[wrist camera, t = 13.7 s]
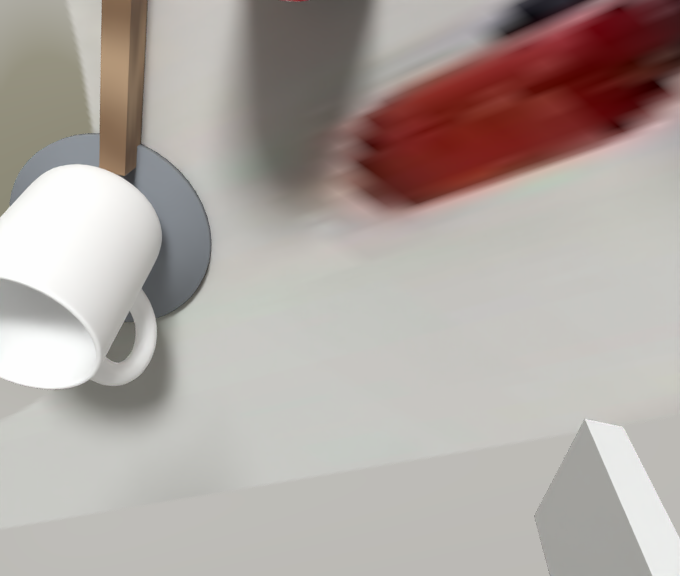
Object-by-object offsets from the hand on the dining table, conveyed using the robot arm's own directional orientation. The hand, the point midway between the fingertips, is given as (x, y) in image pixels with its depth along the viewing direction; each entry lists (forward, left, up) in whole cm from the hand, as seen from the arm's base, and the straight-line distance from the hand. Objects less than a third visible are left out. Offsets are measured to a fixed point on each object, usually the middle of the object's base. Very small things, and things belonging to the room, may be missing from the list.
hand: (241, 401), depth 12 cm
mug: (+10, -12, -26) cm, 30 cm away
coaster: (+10, -13, -27) cm, 31 cm away
